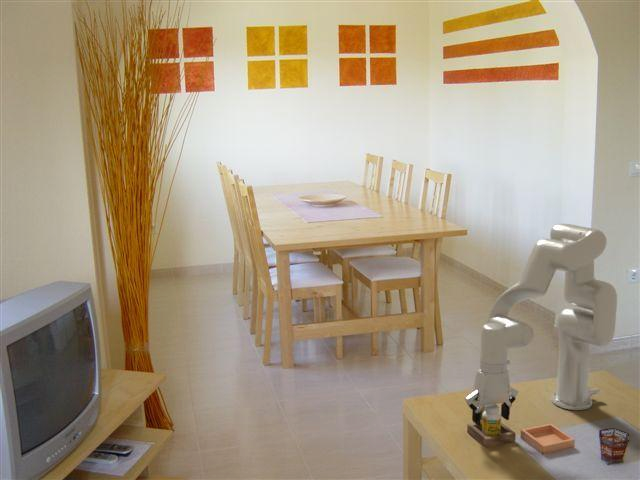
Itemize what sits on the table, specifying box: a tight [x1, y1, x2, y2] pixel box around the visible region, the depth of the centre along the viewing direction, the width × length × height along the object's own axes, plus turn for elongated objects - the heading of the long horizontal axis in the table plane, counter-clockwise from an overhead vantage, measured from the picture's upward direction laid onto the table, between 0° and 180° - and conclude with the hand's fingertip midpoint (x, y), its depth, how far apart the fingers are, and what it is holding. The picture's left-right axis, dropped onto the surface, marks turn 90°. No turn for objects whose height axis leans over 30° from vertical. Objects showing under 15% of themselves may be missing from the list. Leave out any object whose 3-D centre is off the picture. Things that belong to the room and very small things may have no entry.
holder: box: [466, 420, 517, 448], centre depth 205 cm, size 10×10×2 cm
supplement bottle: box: [481, 404, 502, 437], centre depth 205 cm, size 5×5×10 cm
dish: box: [520, 422, 575, 455], centre depth 201 cm, size 11×11×2 cm
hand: (490, 420), depth 204 cm, fingers open, 9 cm apart
